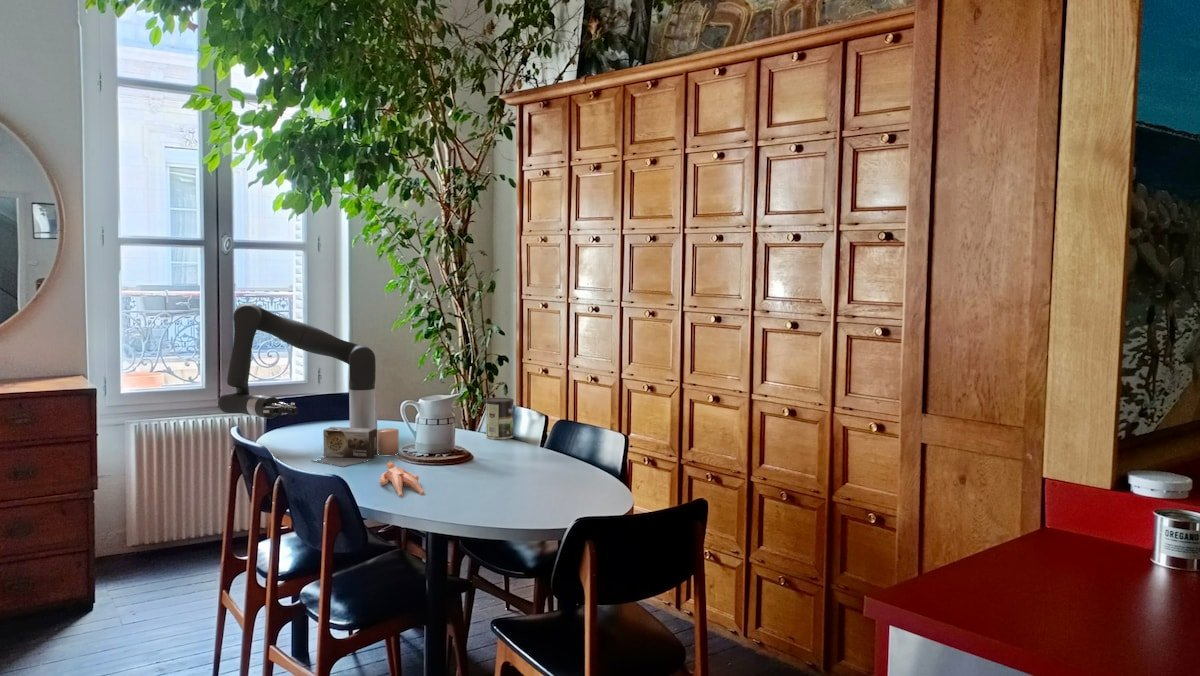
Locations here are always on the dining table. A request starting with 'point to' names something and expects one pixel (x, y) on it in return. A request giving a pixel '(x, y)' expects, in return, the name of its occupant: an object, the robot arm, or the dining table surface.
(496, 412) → the coffee can
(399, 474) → the male figurine
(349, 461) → the mat
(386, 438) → the peach rounded block
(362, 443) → the coffee box
